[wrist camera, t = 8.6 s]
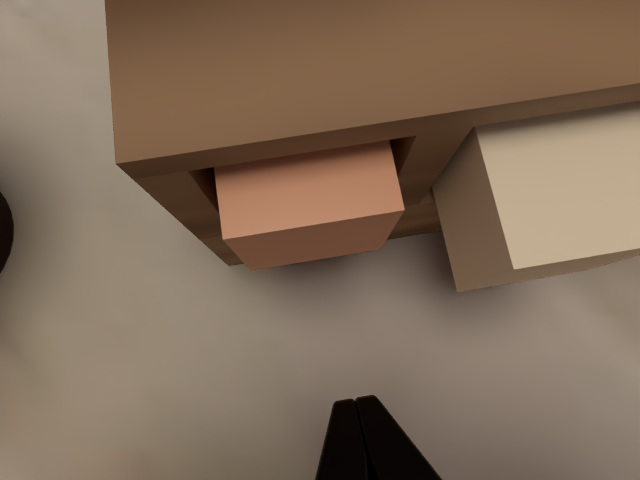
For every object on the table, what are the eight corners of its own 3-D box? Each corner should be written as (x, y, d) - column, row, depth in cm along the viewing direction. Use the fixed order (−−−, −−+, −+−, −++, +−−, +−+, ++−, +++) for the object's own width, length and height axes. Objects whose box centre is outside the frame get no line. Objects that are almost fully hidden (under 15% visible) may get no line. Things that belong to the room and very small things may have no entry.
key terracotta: (380, 249, 14) (404, 210, 10) (250, 270, 14) (222, 239, 10) (345, 77, 15) (354, -18, 11) (227, 95, 15) (194, 5, 11)
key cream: (586, 270, 14) (693, 239, 10) (457, 292, 13) (513, 269, 9) (531, 94, 15) (606, 5, 11) (413, 112, 15) (448, 28, 11)
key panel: (664, 193, 19) (1056, 19, 9) (228, 265, 19) (115, 163, 8) (604, 28, 21) (870, -270, 11) (206, 87, 21) (93, -174, 10)
